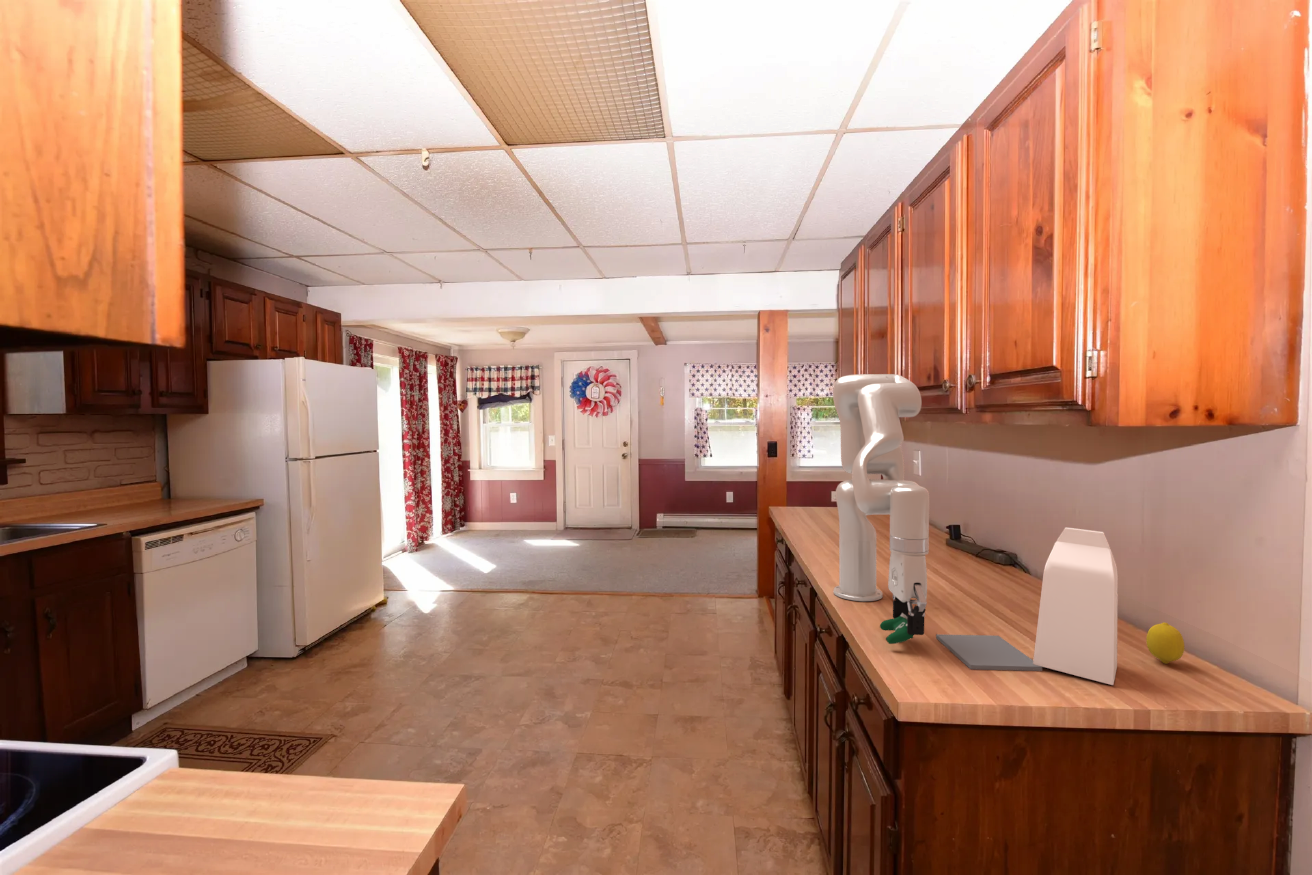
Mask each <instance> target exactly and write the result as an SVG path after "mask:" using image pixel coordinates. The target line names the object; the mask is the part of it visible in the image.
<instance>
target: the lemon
mask: <svg viewBox="0 0 1312 875" xmlns="http://www.w3.org/2000/svg"><path fill="white" fill-rule="evenodd" d="M1145 639H1146V642H1145V643H1146V646H1147V647H1146V648H1147V649H1148V651H1149V653H1150V654H1151V655H1152V656H1153V657H1154V658H1156V659H1157V660H1159V661H1160V662H1161V663H1162V664H1164V665H1166V664H1169V663H1172V662H1175V661H1178V660H1180V659H1181V657H1182V656H1183V655H1184V653H1185V641H1184V637H1183V635H1182V634H1181V632H1180V631H1179V630H1178V629H1177V628H1176V627H1174V626H1172V625H1170V624H1169V623H1168V622H1165V621H1164V622H1161V623H1157V624H1154V625H1152V626H1151V627H1150V628H1149V629H1148V631H1147V634H1146V638H1145Z"/></svg>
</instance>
